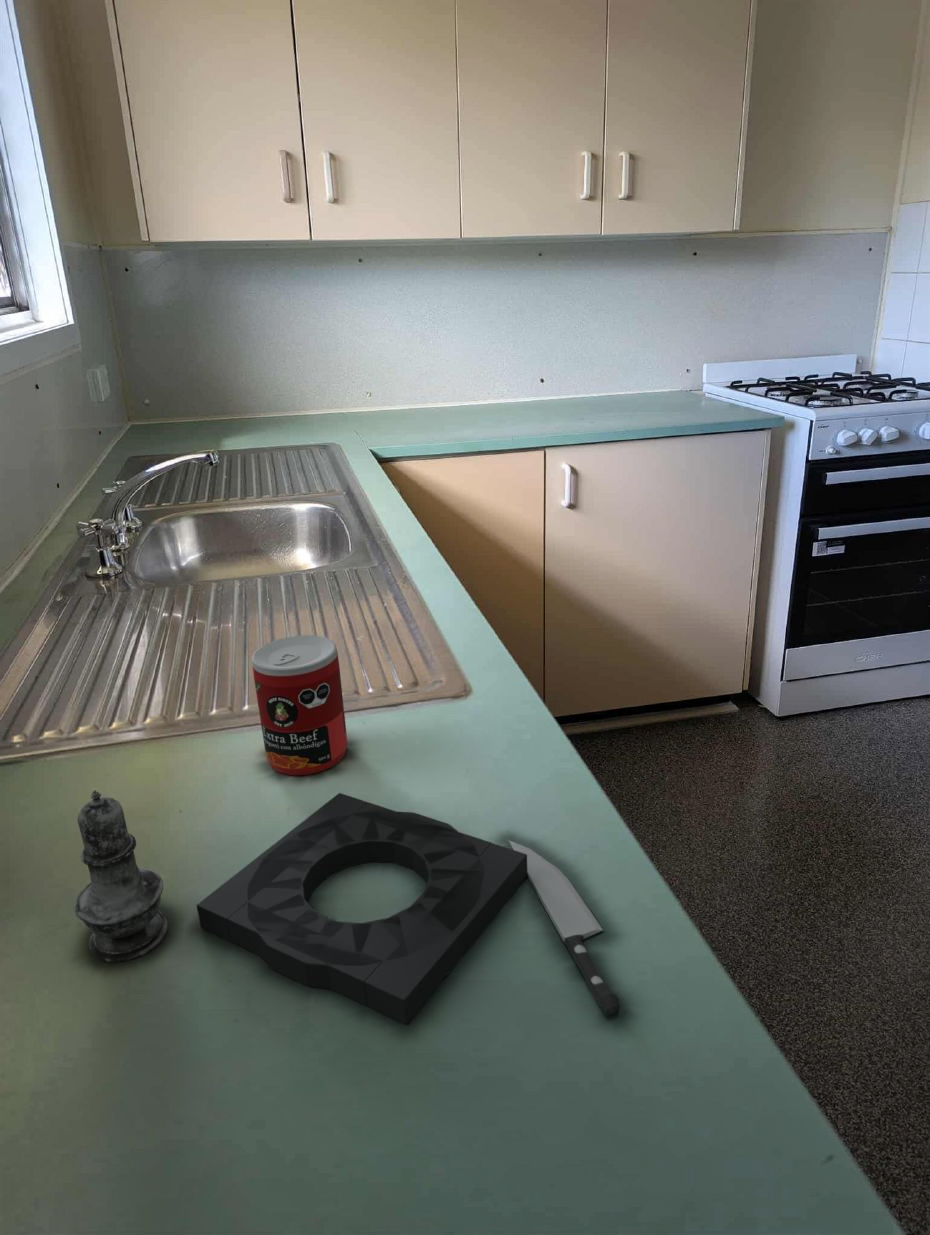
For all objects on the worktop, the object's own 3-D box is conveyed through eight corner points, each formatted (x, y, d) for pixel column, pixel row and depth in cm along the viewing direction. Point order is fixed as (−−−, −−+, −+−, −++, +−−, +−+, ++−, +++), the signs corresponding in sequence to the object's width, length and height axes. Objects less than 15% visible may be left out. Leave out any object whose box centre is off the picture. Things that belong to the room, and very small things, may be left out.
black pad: (194, 932, 62) (190, 909, 61) (345, 809, 75) (343, 789, 75) (401, 1031, 53) (399, 1006, 52) (531, 871, 66) (530, 850, 66)
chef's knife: (543, 837, 71) (508, 842, 70) (543, 825, 71) (508, 830, 70) (649, 1013, 54) (604, 1022, 53) (651, 998, 53) (606, 1007, 53)
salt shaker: (66, 954, 61) (25, 808, 56) (123, 900, 66) (91, 761, 61) (134, 973, 59) (98, 823, 54) (189, 915, 64) (159, 774, 59)
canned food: (252, 773, 82) (235, 666, 78) (290, 731, 89) (276, 631, 85) (327, 781, 80) (314, 672, 76) (360, 738, 87) (349, 636, 83)
